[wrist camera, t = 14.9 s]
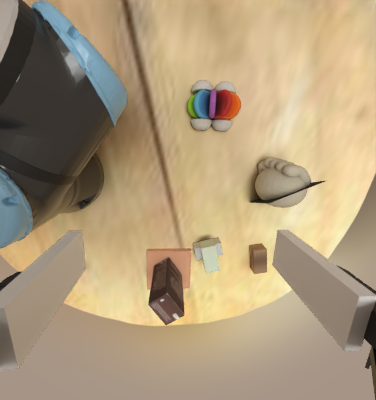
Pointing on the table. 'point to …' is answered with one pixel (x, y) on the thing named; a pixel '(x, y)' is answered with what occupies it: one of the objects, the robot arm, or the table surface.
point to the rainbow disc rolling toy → (213, 105)
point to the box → (167, 291)
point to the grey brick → (198, 249)
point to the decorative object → (281, 183)
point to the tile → (177, 256)
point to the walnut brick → (258, 258)
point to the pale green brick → (209, 256)
